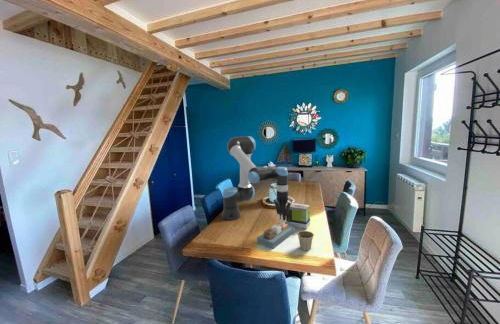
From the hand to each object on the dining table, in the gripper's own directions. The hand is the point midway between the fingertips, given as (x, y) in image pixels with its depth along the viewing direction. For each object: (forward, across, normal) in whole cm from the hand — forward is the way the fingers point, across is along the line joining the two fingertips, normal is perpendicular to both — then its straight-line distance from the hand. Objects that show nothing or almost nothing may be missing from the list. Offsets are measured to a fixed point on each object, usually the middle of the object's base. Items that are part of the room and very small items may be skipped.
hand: (282, 224), depth 159 cm
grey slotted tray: (+6, 0, -8) cm, 10 cm away
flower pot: (+7, +21, -9) cm, 24 cm away
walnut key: (+3, 0, -16) cm, 16 cm away
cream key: (+3, 0, -8) cm, 8 cm away
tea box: (+7, +2, +18) cm, 19 cm away
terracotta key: (+4, 0, 0) cm, 4 cm away
